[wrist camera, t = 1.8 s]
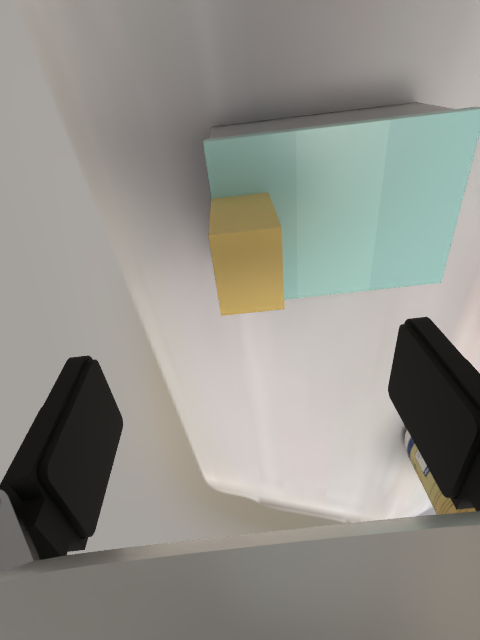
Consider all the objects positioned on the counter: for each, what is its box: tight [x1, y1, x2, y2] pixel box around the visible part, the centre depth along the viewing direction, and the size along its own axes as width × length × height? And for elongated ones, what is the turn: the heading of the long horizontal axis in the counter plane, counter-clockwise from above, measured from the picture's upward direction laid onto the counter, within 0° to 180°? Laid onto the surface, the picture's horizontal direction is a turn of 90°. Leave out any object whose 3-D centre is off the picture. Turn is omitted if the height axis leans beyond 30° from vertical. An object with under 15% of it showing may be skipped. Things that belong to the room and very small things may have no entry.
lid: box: [203, 107, 480, 316], centre depth 18 cm, size 13×9×7 cm
